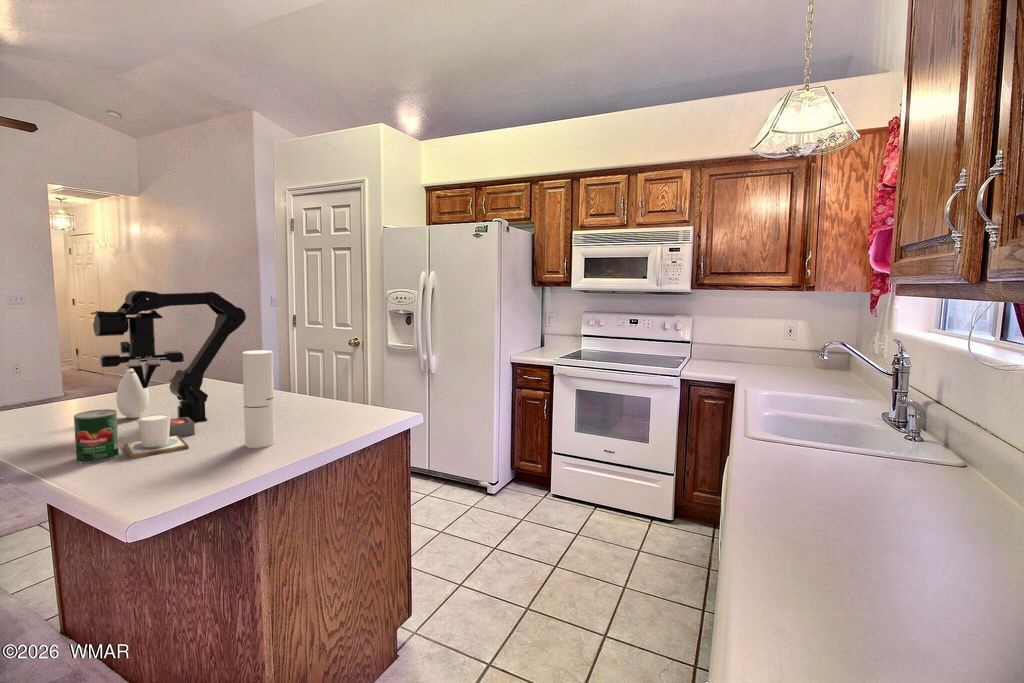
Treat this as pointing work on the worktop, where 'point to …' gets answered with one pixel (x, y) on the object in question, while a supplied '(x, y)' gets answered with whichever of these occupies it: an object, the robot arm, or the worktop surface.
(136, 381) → the sauce bottle
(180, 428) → the button housing
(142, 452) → the wooden picture frame
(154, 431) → the white cup
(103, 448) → the canned tomato
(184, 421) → the button
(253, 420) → the cylindrical container
